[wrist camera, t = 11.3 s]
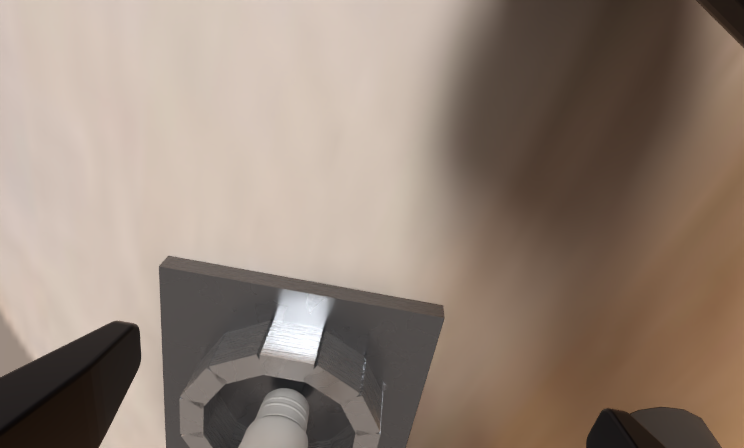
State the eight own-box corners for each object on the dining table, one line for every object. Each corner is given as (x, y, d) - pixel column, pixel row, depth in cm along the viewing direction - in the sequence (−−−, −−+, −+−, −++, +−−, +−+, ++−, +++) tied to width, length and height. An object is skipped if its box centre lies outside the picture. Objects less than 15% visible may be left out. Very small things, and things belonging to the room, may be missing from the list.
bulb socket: (443, 305, 24) (448, 353, 21) (391, 481, 30) (389, 538, 27) (168, 255, 24) (132, 296, 21) (173, 443, 30) (146, 496, 27)
